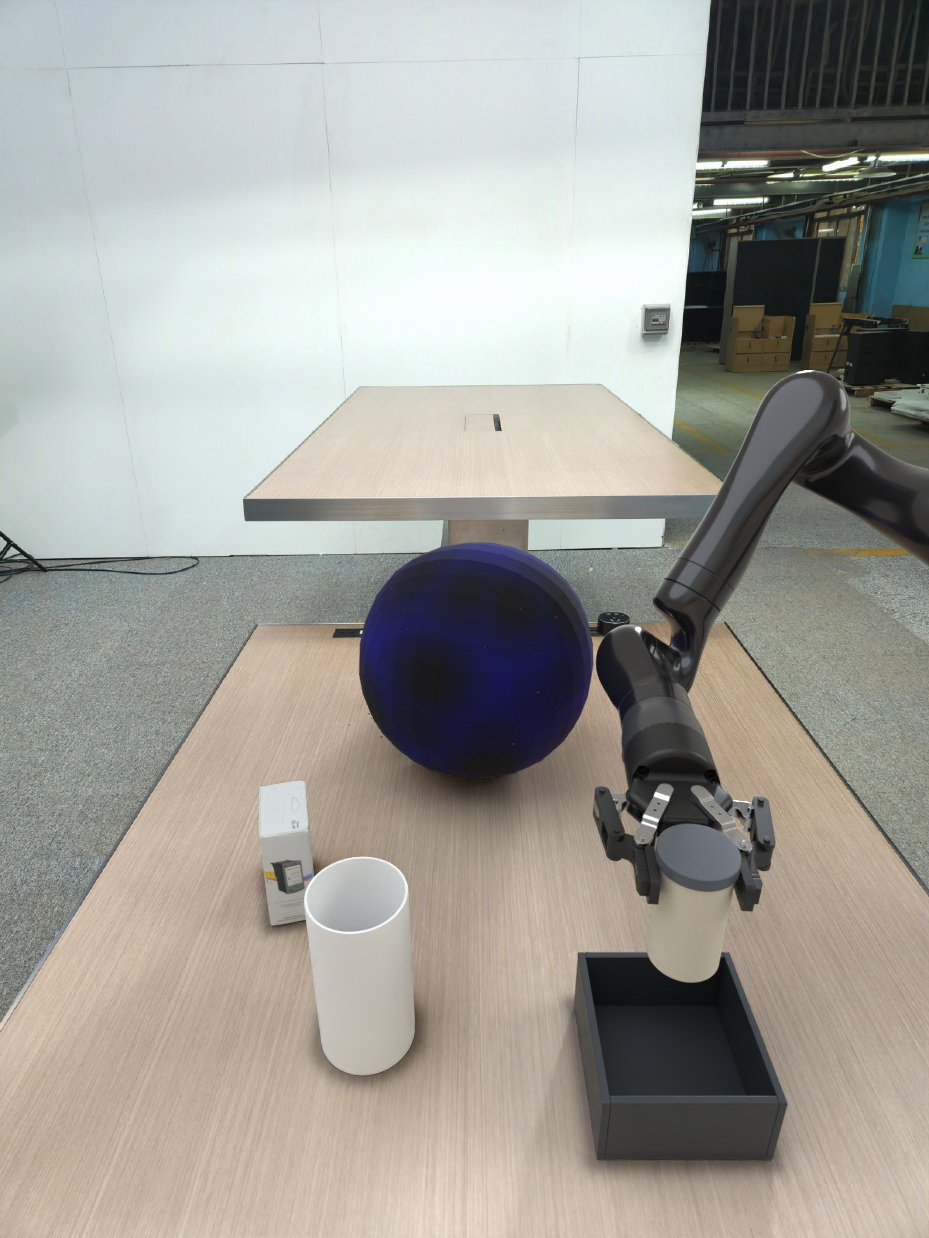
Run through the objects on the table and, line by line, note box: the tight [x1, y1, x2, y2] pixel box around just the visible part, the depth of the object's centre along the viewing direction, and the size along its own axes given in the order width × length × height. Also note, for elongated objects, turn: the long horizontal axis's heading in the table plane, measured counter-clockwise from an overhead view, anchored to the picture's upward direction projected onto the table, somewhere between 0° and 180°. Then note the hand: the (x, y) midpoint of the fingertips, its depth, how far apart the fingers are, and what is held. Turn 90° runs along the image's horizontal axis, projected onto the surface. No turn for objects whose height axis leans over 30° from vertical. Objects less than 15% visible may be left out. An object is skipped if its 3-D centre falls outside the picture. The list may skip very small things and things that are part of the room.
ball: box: [348, 529, 595, 780], centre depth 99 cm, size 35×31×30 cm
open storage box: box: [573, 951, 789, 1161], centre depth 61 cm, size 13×13×7 cm
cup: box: [304, 856, 416, 1076], centre depth 63 cm, size 8×8×16 cm
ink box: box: [258, 779, 315, 926], centre depth 78 cm, size 9×5×12 cm, turn 14°
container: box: [645, 824, 742, 983], centre depth 55 cm, size 6×6×10 cm
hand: (701, 898), depth 52 cm, fingers closed on container, 5 cm apart
